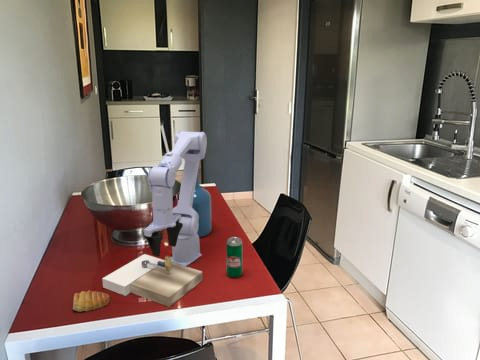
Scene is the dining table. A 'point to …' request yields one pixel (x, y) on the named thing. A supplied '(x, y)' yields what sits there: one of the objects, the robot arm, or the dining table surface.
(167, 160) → the robot arm
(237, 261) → the soda can
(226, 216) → the dining table surface
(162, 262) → the block
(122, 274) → the frame slab
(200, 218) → the blue bottle
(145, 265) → the bar
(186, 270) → the slab
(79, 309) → the pastry
